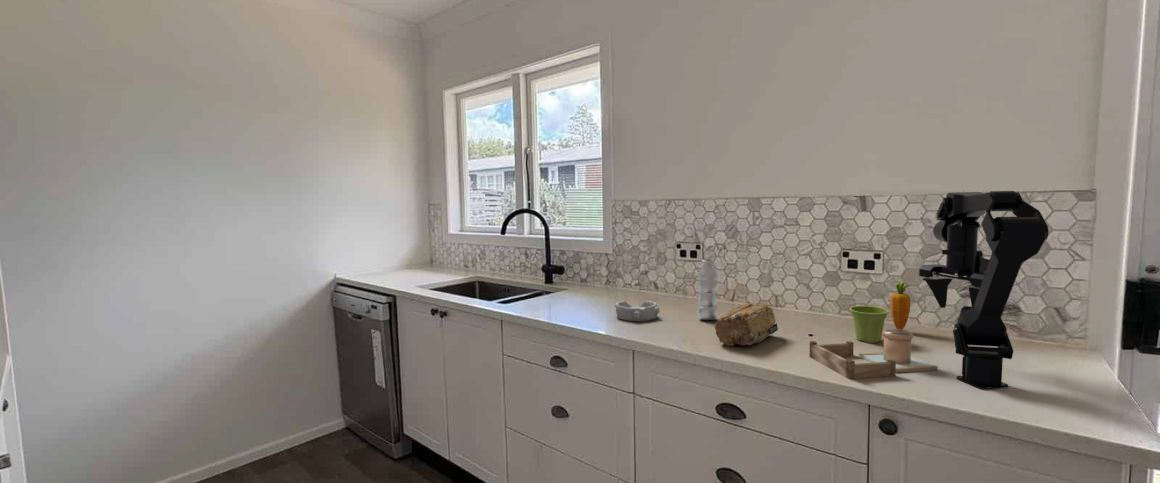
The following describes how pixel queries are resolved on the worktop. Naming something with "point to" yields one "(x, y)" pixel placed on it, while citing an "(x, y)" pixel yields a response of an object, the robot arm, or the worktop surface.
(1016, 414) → the worktop surface
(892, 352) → the terracotta pot
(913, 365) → the lid pane
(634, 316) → the dish
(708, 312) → the plastic bottle
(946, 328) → the worktop surface
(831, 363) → the frame
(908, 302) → the carrot
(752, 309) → the petrified wood
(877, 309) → the plant pot
